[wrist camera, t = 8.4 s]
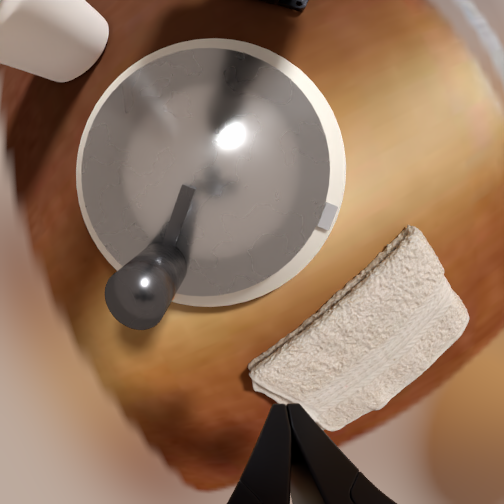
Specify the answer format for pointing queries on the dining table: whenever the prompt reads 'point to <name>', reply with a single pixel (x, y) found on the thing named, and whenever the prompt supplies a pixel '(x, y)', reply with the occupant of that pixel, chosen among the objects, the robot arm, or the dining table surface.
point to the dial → (201, 179)
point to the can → (51, 37)
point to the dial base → (335, 158)
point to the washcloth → (366, 337)
